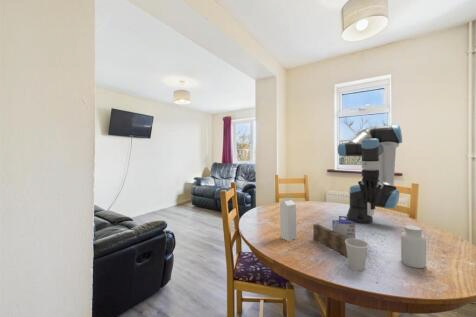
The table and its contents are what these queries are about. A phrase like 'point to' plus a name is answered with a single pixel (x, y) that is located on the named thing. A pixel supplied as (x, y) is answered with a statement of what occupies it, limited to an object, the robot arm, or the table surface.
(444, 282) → the table surface
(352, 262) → the dixie cup
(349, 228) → the ink cartridge box
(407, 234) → the pill bottle
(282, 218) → the milk
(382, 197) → the robot arm
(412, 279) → the table surface
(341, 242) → the walnut board
